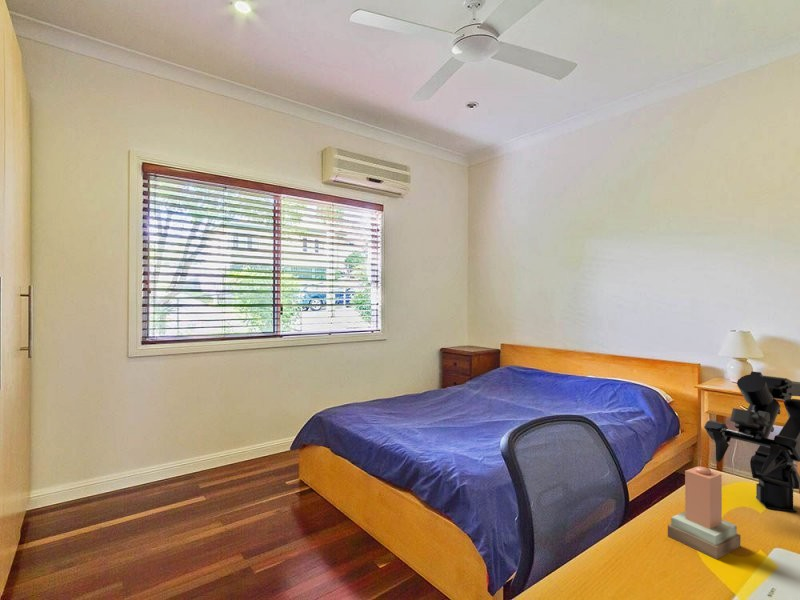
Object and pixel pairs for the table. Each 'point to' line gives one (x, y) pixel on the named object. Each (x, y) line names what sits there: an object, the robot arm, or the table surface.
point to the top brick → (703, 497)
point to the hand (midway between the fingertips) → (739, 467)
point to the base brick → (705, 536)
